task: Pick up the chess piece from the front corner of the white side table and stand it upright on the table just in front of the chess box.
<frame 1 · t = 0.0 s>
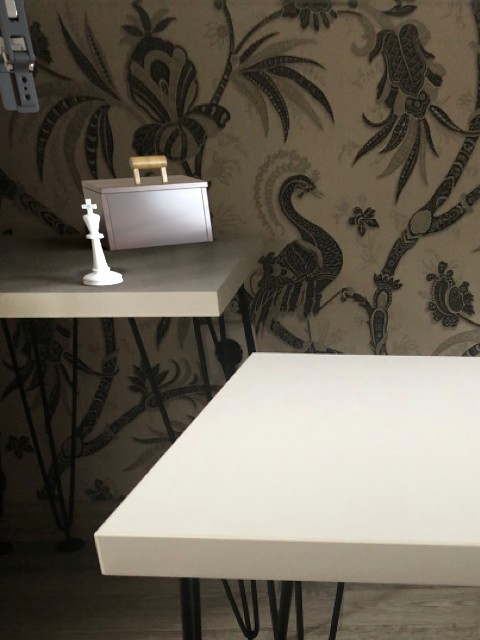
hand: (21, 111, 101), 20 cm above the table, tool pointing down, fingers open, 8 cm apart
chess piece: (103, 283, 120), on the table
chess box: (153, 248, 143), on the table
chess box lid: (142, 170, 137), point 11 cm above the table, hinge at 0.0°
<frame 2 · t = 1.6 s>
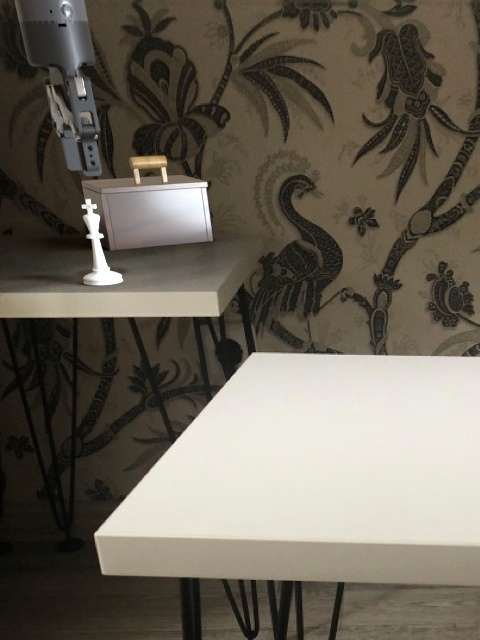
hand: (84, 173, 114), 13 cm above the table, tool pointing down, fingers open, 8 cm apart
nothing on the table moved.
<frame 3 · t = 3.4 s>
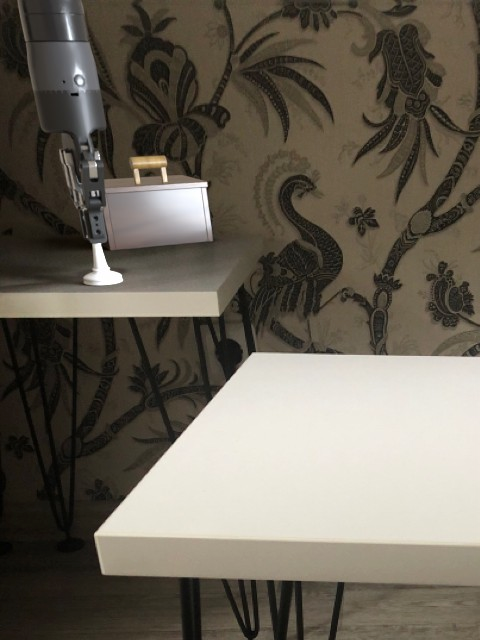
hand: (95, 240, 117), 5 cm above the table, tool pointing down, fingers closed on chess piece
chess piece: (103, 283, 120), on the table, touching gripper
everything else where it was.
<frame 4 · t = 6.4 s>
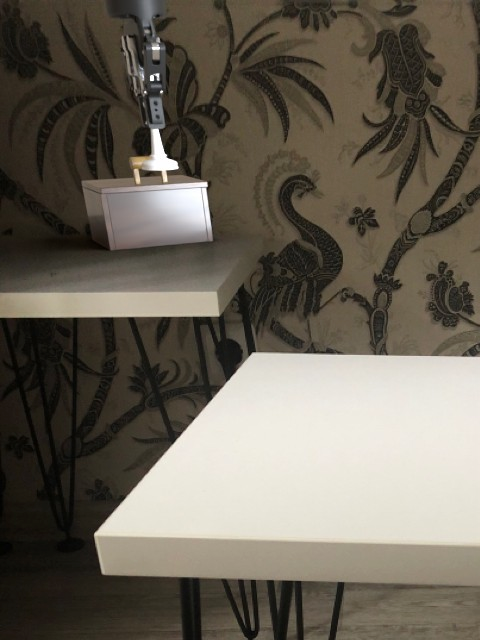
hand: (154, 127, 124), 17 cm above the table, tool pointing down, fingers closed on chess piece
chess piece: (160, 170, 126), point 12 cm above the table, touching gripper
everything else where it was.
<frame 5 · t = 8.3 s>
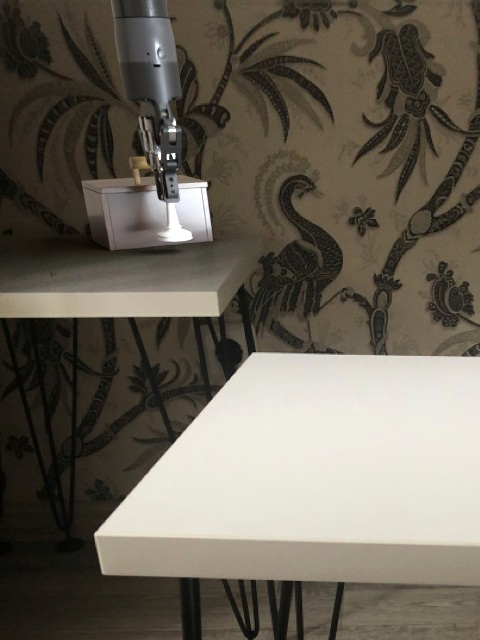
hand: (169, 201, 129), 8 cm above the table, tool pointing down, fingers closed on chess piece
chess piece: (175, 240, 132), point 3 cm above the table, touching gripper
everything else where it was.
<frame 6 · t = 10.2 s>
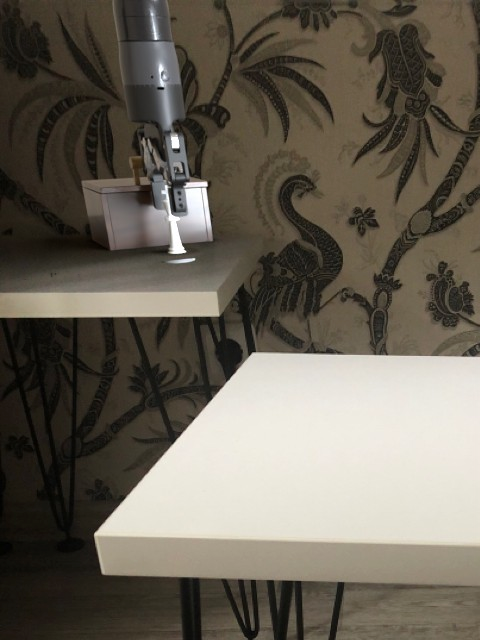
hand: (171, 212, 130), 6 cm above the table, tool pointing down, fingers open, 8 cm apart
chess piece: (178, 261, 133), on the table
everything else where it was.
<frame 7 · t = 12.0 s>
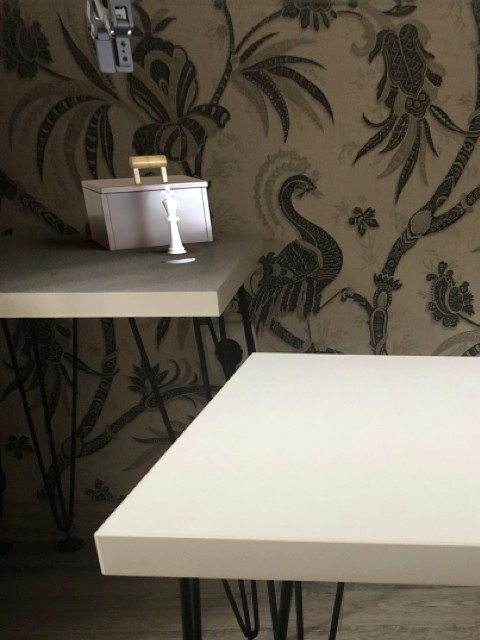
hand: (116, 72, 119), 24 cm above the table, tool pointing down, fingers open, 8 cm apart
nothing on the table moved.
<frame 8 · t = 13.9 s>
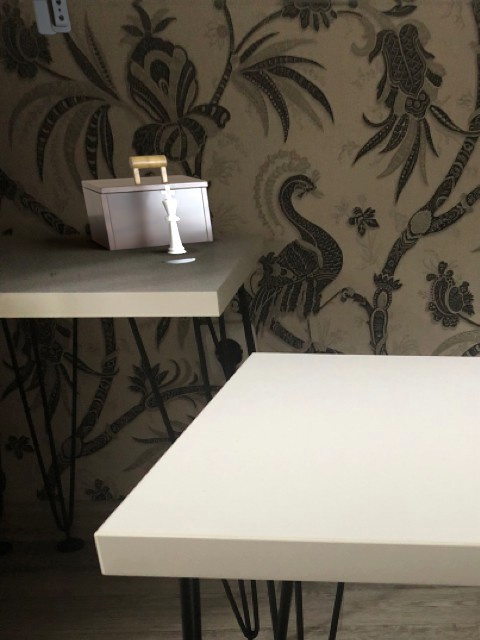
hand: (54, 33, 115), 28 cm above the table, tool pointing down, fingers open, 8 cm apart
nothing on the table moved.
at the end: chess piece inside the target area on the table beside the chess box (0.1 cm from its centre), on the table; chess piece tilted 0°; the gripper is holding nothing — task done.
